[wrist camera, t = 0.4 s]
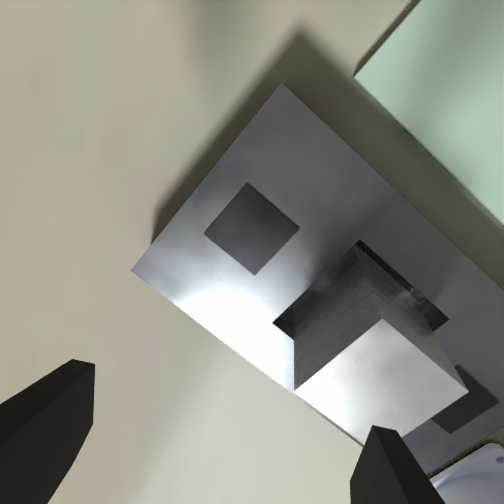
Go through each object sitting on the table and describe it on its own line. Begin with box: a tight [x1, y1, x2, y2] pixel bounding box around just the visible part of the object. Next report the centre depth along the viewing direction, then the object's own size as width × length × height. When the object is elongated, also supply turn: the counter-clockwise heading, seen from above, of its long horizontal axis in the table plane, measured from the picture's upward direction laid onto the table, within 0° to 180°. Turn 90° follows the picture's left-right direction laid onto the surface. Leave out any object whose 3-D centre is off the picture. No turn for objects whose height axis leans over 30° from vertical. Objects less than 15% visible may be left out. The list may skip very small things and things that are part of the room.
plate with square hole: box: [131, 82, 504, 474], centre depth 18 cm, size 18×10×3 cm, turn 50°
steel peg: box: [294, 244, 469, 445], centre depth 16 cm, size 4×4×7 cm
